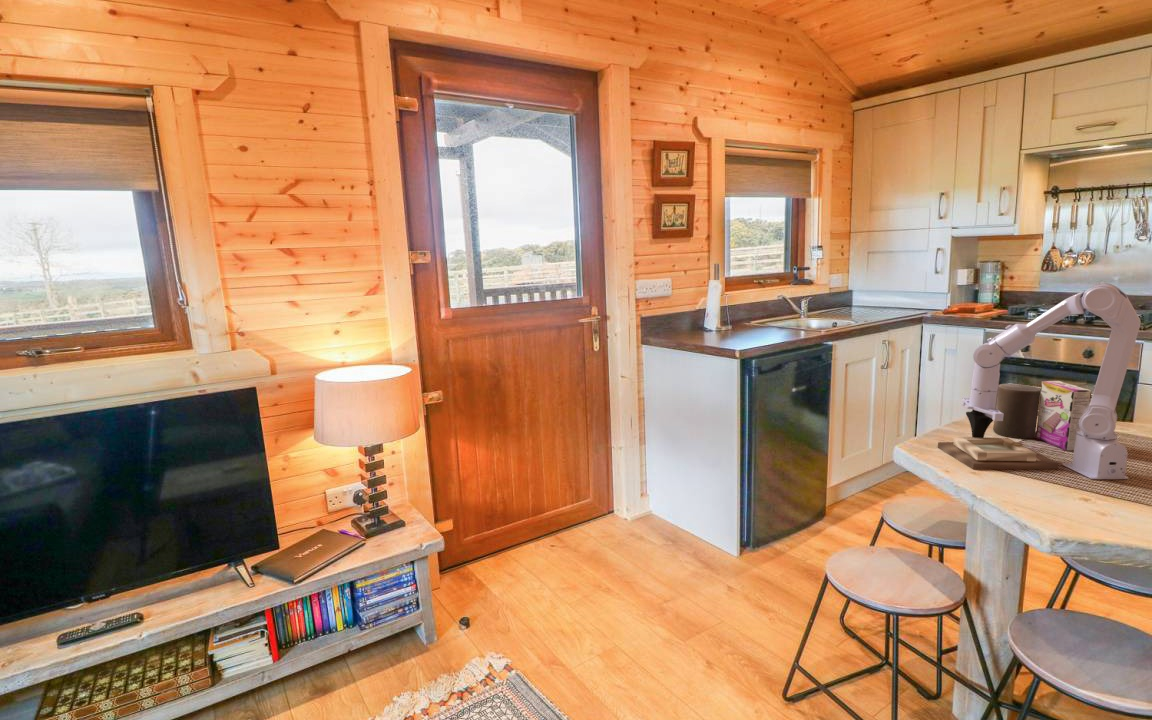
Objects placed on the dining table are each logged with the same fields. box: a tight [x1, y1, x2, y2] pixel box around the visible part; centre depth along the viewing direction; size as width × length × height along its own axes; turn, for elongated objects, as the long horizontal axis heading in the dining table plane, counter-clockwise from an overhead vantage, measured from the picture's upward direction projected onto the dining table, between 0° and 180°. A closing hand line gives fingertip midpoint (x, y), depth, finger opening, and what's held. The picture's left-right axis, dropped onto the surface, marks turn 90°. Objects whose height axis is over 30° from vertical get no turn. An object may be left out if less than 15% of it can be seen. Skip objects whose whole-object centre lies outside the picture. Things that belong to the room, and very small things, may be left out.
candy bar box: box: [1035, 380, 1093, 452], centre depth 156 cm, size 11×5×16 cm, turn 178°
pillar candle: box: [992, 382, 1041, 440], centre depth 166 cm, size 10×10×15 cm
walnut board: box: [937, 441, 1059, 470], centre depth 149 cm, size 16×20×2 cm
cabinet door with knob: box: [952, 436, 1038, 461], centre depth 148 cm, size 12×13×2 cm
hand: (977, 439), depth 154 cm, fingers closed, pressing on cabinet door with knob
